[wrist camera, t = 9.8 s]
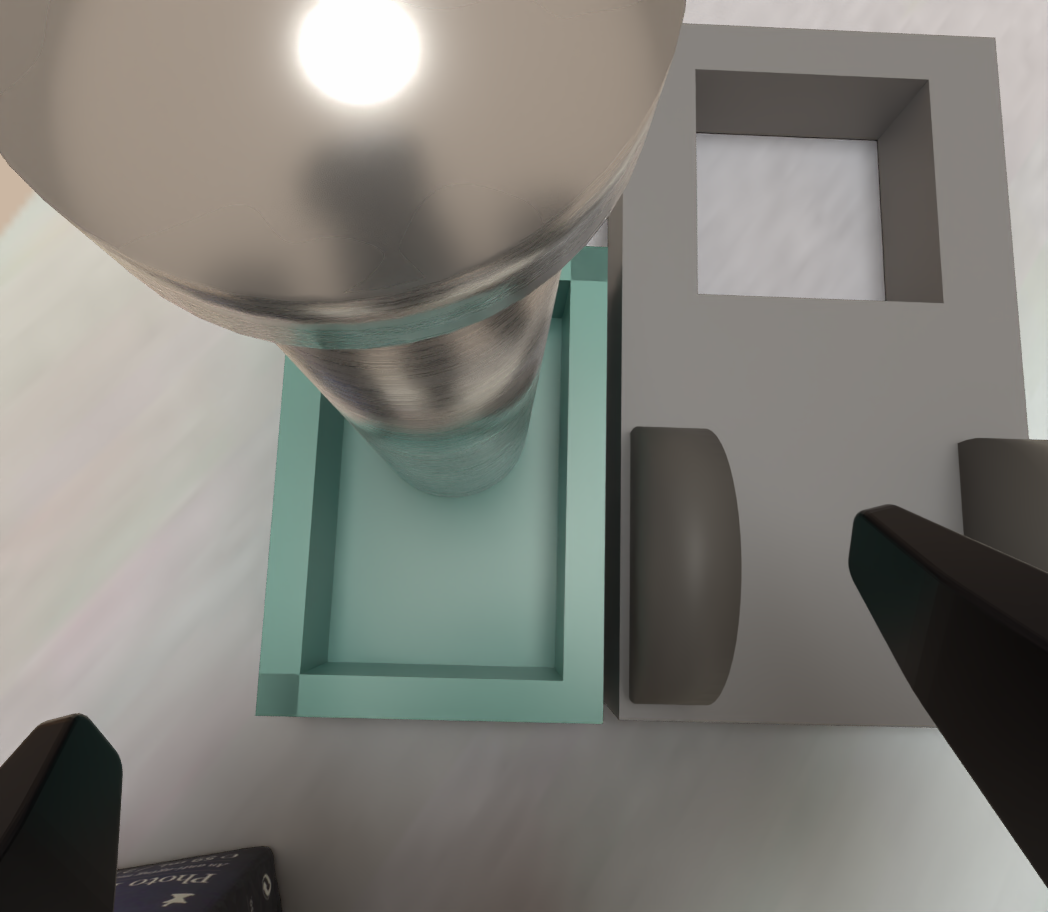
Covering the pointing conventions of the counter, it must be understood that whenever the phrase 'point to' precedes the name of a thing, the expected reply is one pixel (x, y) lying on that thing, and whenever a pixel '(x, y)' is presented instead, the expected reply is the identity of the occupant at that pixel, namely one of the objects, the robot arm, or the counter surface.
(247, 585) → the counter surface
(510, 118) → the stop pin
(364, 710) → the tray
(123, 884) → the small box
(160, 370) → the counter surface
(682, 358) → the socket plate with bumps
